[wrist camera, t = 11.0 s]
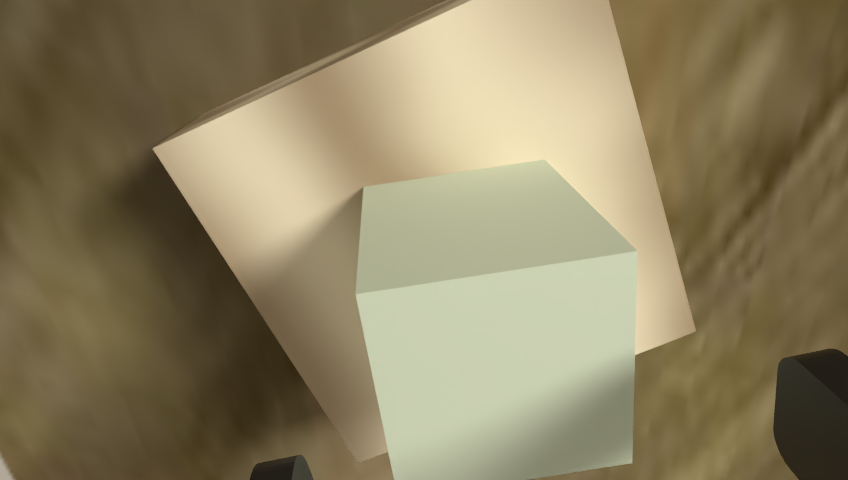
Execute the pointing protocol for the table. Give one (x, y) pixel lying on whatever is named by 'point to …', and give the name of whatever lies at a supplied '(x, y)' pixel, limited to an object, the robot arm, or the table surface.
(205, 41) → the table surface
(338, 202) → the birch block
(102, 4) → the table surface
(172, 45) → the table surface
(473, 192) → the sage block
